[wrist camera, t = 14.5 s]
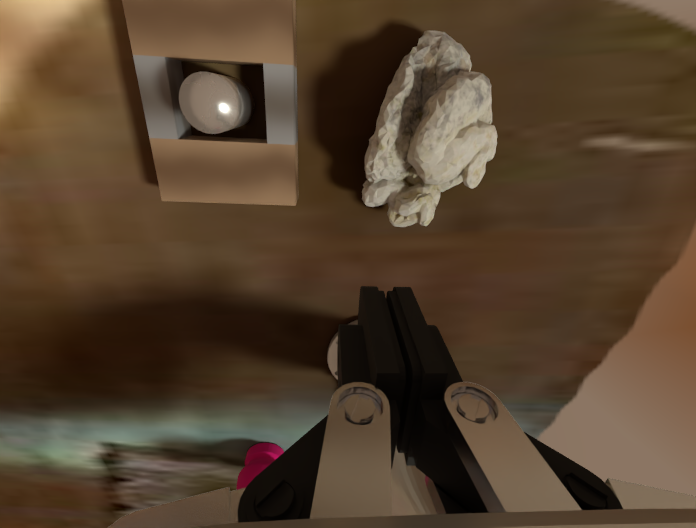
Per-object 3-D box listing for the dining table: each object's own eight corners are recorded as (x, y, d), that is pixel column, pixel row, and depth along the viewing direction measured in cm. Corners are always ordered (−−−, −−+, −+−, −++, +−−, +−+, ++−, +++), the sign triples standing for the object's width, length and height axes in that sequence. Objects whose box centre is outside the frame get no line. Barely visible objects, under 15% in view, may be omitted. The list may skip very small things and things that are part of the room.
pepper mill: (249, 436, 54) (209, 606, 36) (292, 444, 55) (275, 611, 37) (240, 464, 56) (199, 633, 39) (281, 470, 58) (260, 637, 40)
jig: (298, 196, 37) (295, 205, 34) (176, 191, 36) (161, 200, 33) (295, -10, 29) (291, -23, 26) (138, -23, 28) (114, -38, 25)
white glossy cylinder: (256, 128, 33) (239, 135, 27) (211, 126, 33) (183, 132, 27) (252, 78, 31) (233, 73, 25) (204, 75, 31) (173, 69, 25)
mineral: (327, 209, 35) (383, 256, 28) (367, 10, 27) (459, 7, 20) (413, 209, 42) (474, 247, 35) (465, 49, 34) (559, 57, 27)
